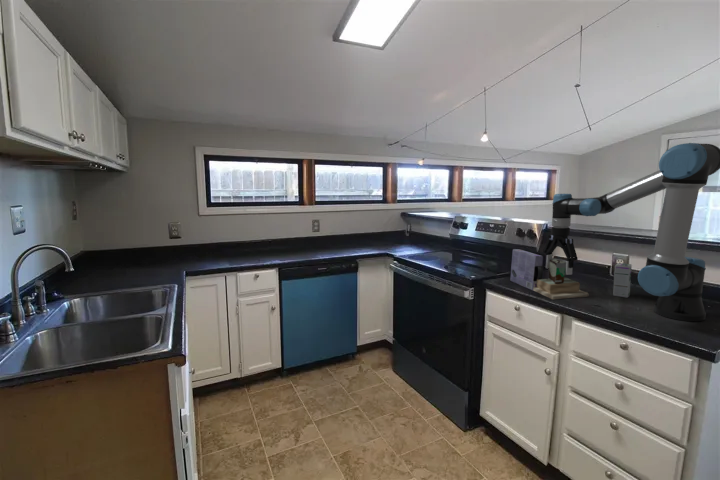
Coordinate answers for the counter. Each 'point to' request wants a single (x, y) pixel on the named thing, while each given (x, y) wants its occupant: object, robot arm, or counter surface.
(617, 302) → the counter surface
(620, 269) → the syrup box
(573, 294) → the base
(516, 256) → the cake pan box
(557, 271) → the food container
